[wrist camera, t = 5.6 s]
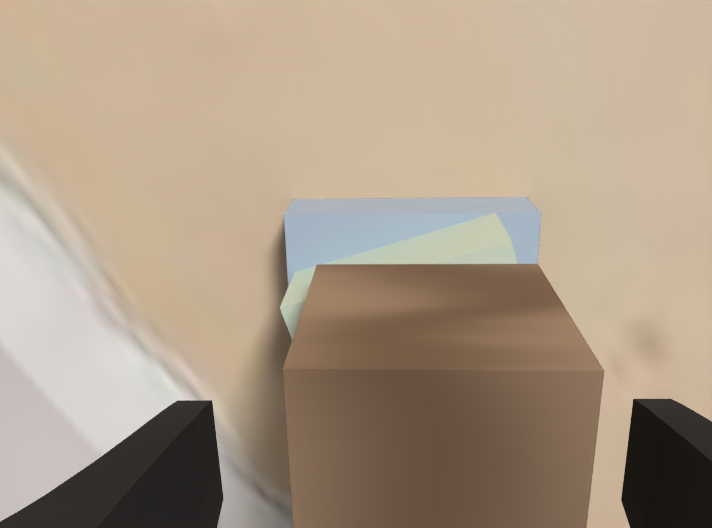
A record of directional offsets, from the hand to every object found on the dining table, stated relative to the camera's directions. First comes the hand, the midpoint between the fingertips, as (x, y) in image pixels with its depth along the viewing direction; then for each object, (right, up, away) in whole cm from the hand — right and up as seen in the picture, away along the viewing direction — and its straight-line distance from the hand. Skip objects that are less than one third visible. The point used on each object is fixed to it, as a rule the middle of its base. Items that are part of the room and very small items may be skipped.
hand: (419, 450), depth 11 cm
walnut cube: (0, +1, +3) cm, 3 cm away
